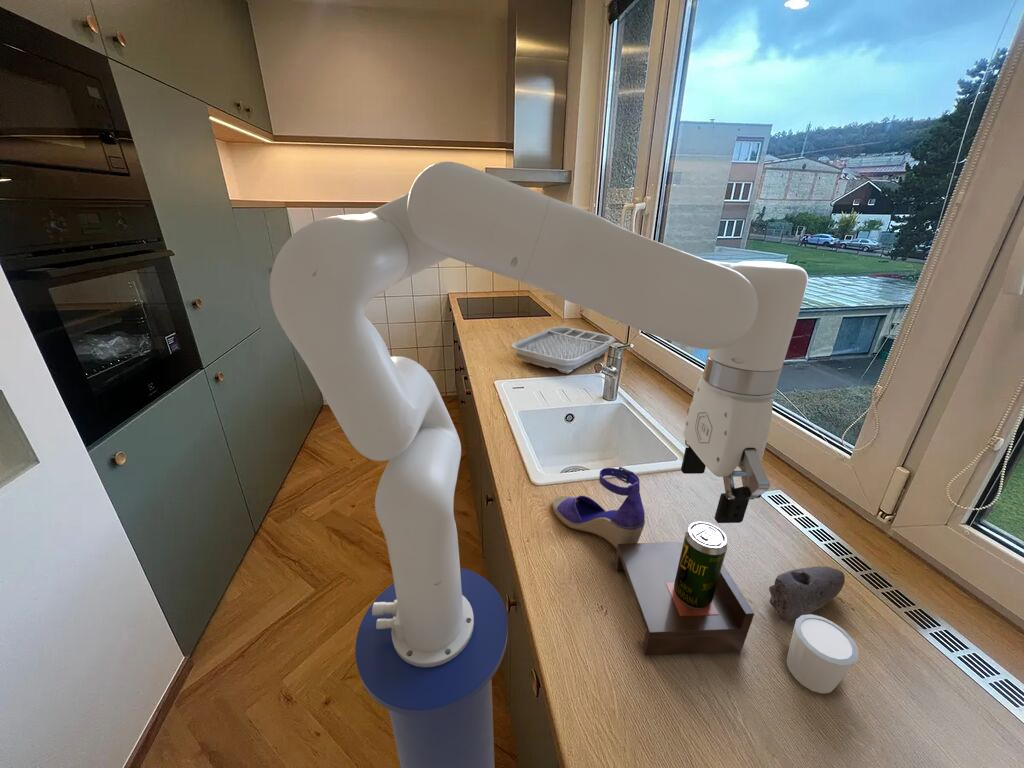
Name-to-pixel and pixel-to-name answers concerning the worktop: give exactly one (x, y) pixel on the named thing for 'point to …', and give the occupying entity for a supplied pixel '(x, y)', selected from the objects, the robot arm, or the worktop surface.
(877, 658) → the worktop surface
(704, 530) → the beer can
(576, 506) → the sandal
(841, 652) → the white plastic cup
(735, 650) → the shelf
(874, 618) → the worktop surface
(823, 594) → the perforated stone tool
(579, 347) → the dish rack
